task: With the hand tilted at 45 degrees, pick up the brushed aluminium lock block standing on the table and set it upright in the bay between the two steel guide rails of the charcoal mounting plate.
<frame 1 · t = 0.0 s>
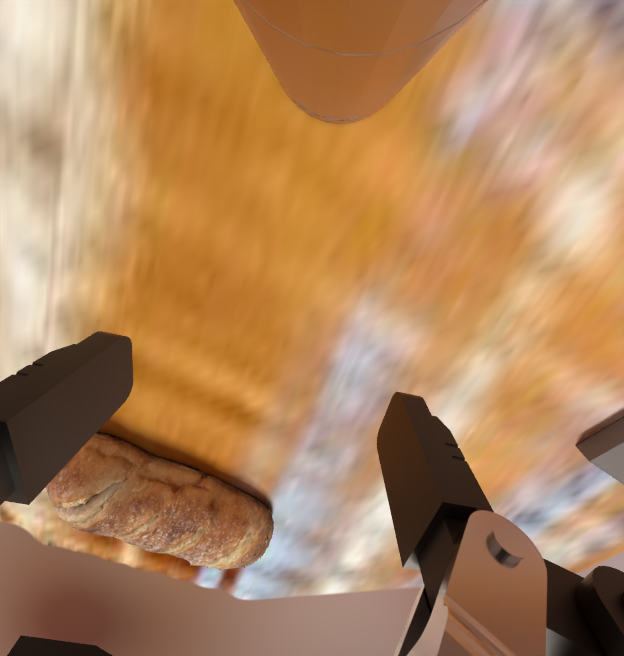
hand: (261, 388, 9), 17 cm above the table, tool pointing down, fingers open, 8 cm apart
bread loaf: (180, 480, 41), on the table
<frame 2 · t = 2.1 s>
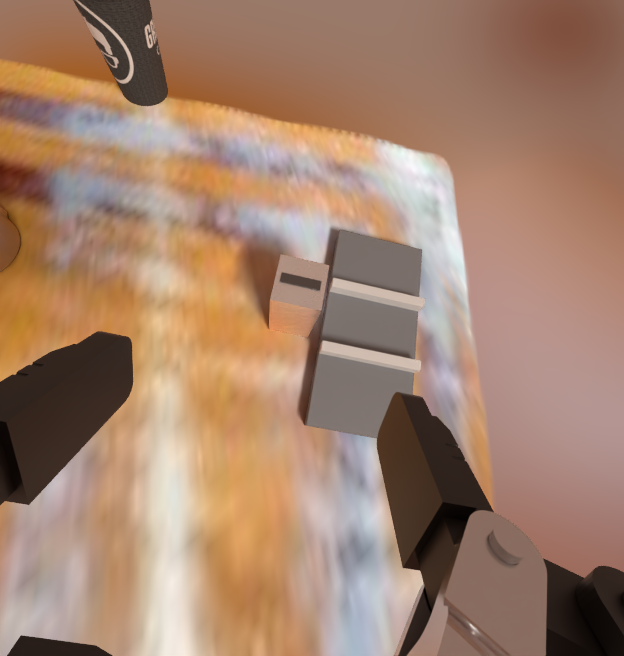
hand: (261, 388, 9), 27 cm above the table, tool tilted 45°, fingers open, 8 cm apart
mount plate: (366, 331, 40), on the table
coffee cup: (145, 91, 46), on the table
lock block: (292, 315, 39), on the table
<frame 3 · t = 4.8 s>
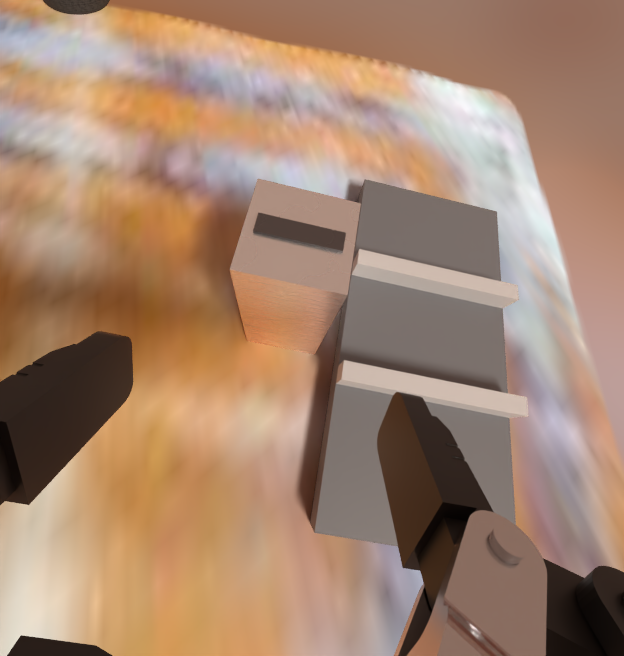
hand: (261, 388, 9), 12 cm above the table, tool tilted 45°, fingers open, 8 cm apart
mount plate: (414, 342, 23), on the table
lock block: (287, 316, 23), on the table
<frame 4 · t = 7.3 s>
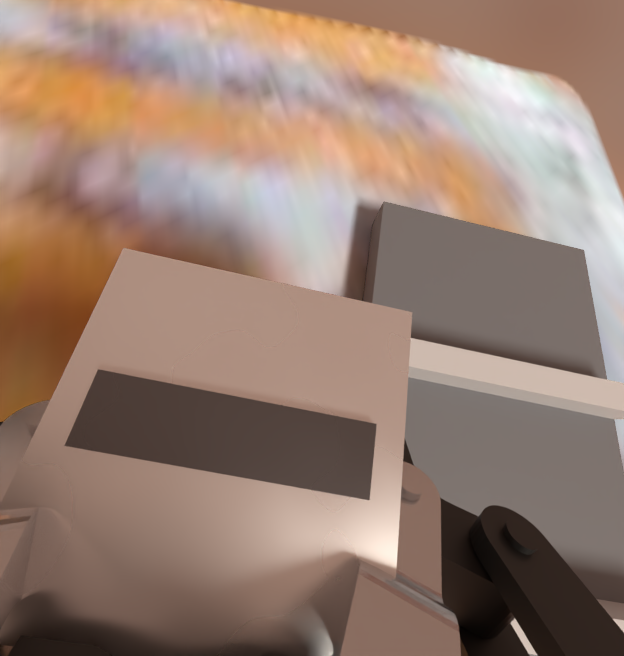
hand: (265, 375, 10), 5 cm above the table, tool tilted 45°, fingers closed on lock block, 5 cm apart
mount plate: (466, 473, 14), on the table
lock block: (257, 434, 14), on the table, touching gripper
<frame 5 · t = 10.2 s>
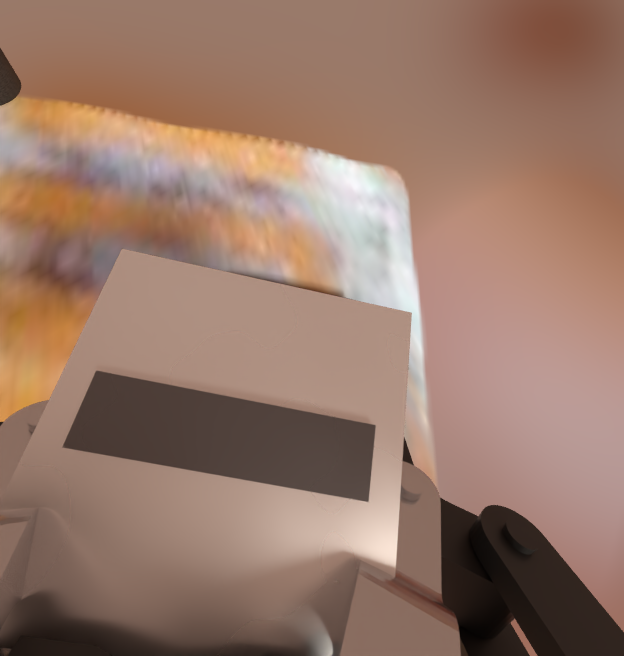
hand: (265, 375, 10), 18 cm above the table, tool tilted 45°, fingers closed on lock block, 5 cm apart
lock block: (257, 435, 14), point 14 cm above the table, touching gripper
when the fingers open (8 cm above the table, at t = 13.2 s): lock block stays where it is, resting on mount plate.
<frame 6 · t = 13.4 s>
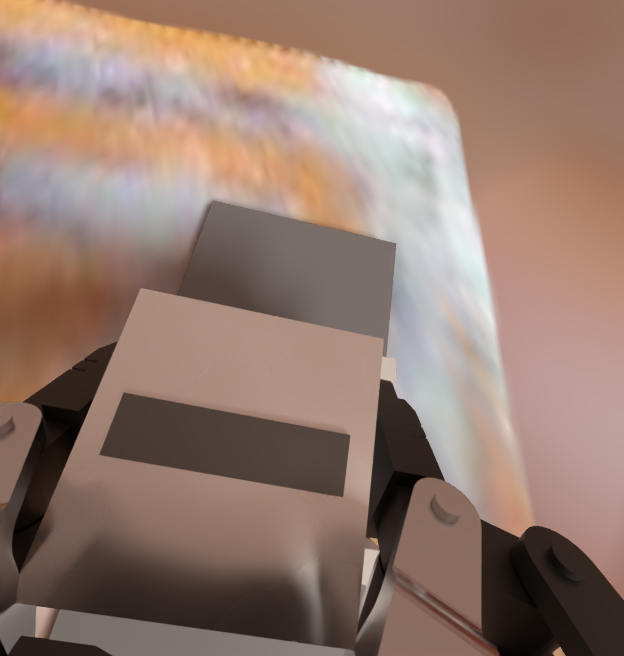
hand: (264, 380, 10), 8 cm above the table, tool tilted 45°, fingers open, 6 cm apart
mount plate: (260, 434, 16), on the table
lock block: (256, 438, 15), point 2 cm above the table, touching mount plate
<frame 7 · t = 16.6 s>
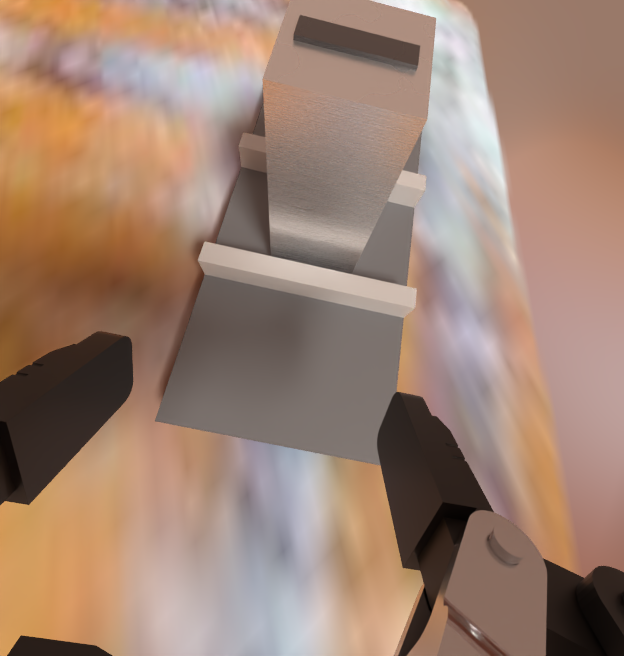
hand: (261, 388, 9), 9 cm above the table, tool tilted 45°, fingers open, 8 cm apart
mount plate: (316, 247, 21), on the table
lock block: (318, 232, 19), point 2 cm above the table, touching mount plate
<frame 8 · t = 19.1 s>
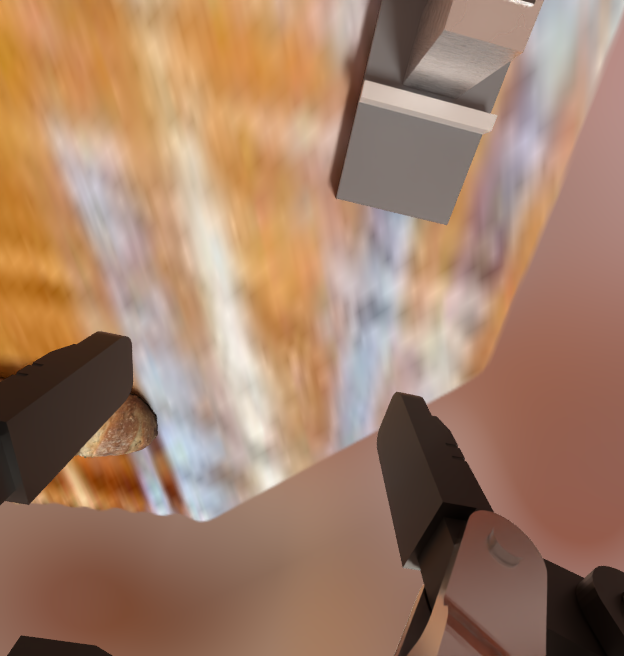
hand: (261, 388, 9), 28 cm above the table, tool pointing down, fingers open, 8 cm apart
bread loaf: (67, 404, 47), on the table
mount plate: (433, 63, 28), on the table
lock block: (439, 56, 26), point 2 cm above the table, touching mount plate
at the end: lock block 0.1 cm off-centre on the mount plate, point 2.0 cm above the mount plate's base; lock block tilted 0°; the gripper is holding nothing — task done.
